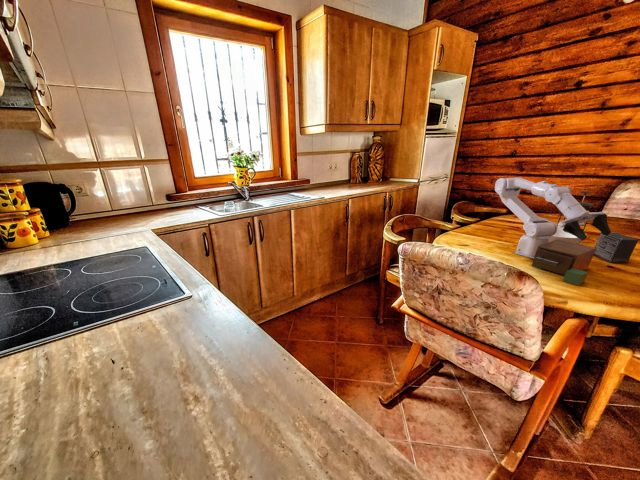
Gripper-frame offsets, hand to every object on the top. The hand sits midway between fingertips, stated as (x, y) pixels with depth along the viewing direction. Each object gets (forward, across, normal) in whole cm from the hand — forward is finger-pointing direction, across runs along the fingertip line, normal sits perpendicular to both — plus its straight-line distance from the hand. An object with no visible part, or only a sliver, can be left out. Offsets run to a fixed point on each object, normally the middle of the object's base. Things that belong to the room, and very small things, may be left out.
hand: (596, 236), depth 102 cm
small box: (-1, +20, +27) cm, 34 cm away
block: (+12, -10, +9) cm, 18 cm away
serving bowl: (-18, +12, +36) cm, 42 cm away
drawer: (+3, -9, +14) cm, 17 cm away
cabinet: (+2, -5, +17) cm, 18 cm away
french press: (-27, +30, +47) cm, 62 cm away
